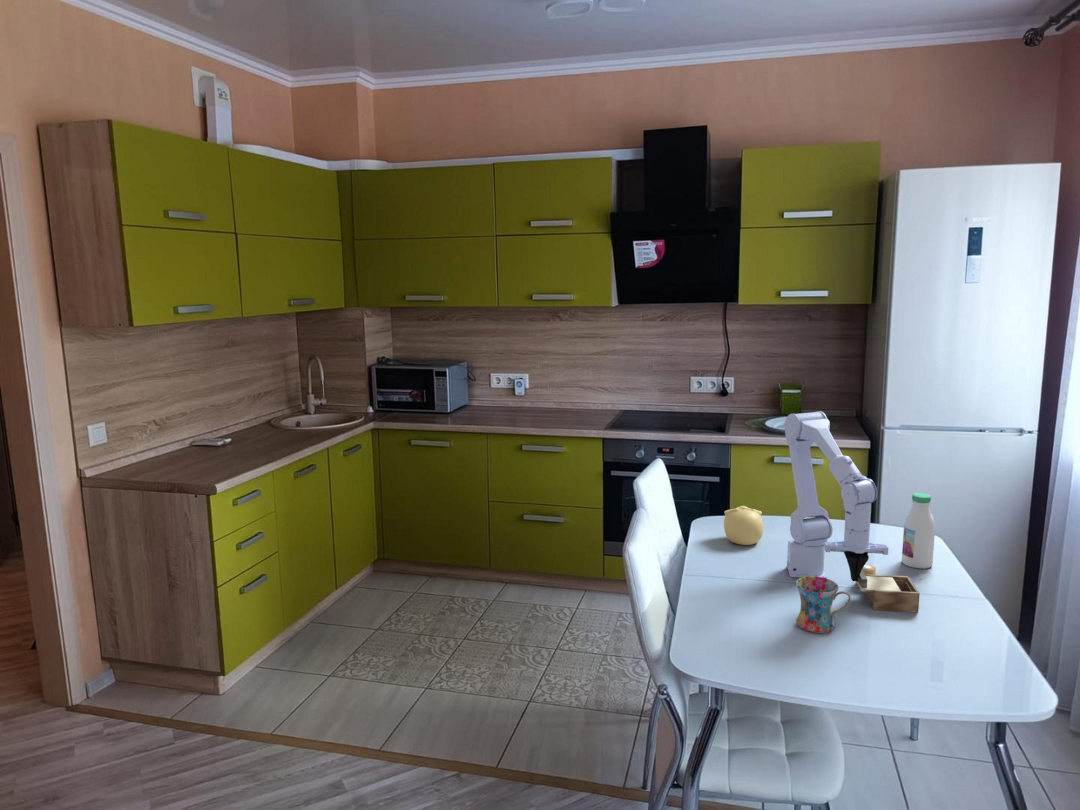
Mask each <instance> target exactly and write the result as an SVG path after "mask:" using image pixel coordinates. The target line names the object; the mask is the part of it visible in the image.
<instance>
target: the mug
mask: <svg viewBox="0 0 1080 810" xmlns="http://www.w3.org/2000/svg"><path fill="white" fill-rule="evenodd" d="M795 585H796V588H797V590H798V593H799V597H800V611H799V614H798V616H797V618H796V620H795V621H796V624H797V626H798V627H800V628H801V629H803V630H804V631H807V632H810V633H817V634H822V633H823V634H825V633H829V632H831V631H833V630H834V629H835V627H836V624H835V621H834V620H833V618H836V615H835V614H836V613H839V612H841V611H843V610H845V608H847V607H848V605H849V604H850V602H851V599H852V598H851V595H850V593H848V592H846V591H838V590H839V588H840V587H839V585H838V584H837V583H836V582H835V581H834V580H831V579H829V578H828V577H827V578H823V577H816V576H808V577H802V578H800V577H798V579H797V580H796V581H795ZM839 595H846V596H847V597H848V599H847V601H846V603H845V604H844V605H843V606H842V607H840V608H838V609H836V610H834V611H832V607H833V602H834V601H835V599H836V598H837V597H838V596H839Z"/></svg>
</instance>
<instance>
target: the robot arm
mask: <svg viewBox="0 0 1080 810" xmlns="http://www.w3.org/2000/svg"><path fill="white" fill-rule="evenodd" d="M830 426H831V424H830V420H829V419H828V417H827V415H826V414H825V413H824V411H821V410H818V411H814V412H803V413H790V414H787V417H786V419H785V421H784V422H783V427H784V435H785V441H786V445H788V449H789V456H790V463H791V469H792V475H793V481H794V482H793V483H794V488H795V489H794V490H795V495H796V501H797V508H796V509H795V510H794V511H793V512H792V513H791V514H790V516H789V517H790V526H789V531H790V536H791V538H792V539H793V540H789V541H788V542H787V559H786V568H787V571H788V573H789V577H791V578H802V577H808V576H816V577H823V578H827V579H828V576H827V574H826V573H827V572H825V553H831V552H834V553H835V552H836V553H838V552H839V553H843V554H844V556H845V559H846V562H847V564H848V568H849V571H850V572H849V574H850V580H851V581H852V582H856V581H858V579H859V576H860V573H861V571H862V569H863V567H864V565H865V564H867V563H868V561H869V554H883V555H884V556H885V555H886V556H889V546H888V545H887V544H884V543H883V544H880V543H873V542H870V533H871V532H870V531H871V516H872V515H871V513H872V503H874V502H875V501H876V500H877V497H878V488H877V486H876V484H875V482H874V481H873V479H871V478H867V477H866V475H863V474H862V473H861V471H860V470H859V469H858V467H857V466H856V464H855V463H854V461H853V460H852V458H851V457H850V456H848V455H843V453H842V451H841V449H840V447H839V446H838V444H837V442H836V440H835V437H833V435H832V433H831V431H830V428H831V427H830ZM814 443H815V444H816V446H817V447H818V448H819V449H820V450H821V452H822V453H823V454H824V456H825V458H827V460H829V462H830V463H829V467H828V469H829V471H830V472H831V474H832V475H833V477H834V479H835V480H836V481H837V483H838V484H839V486H840V488H841V490H840V496H841V499H842V501H843V502H842V503H843V510H845V513H844V515H845V516H844V536H843V537H844V538H843V540H841V541H840V540H839V541H829V542H828V539H830V538H831V537H832V535H833V529H834V528H833V524H832V522H831V520H830V517H829V512H828V511H827V510H826V509H825V508H823V507H822V506H820V504H819V500H818V499H819V497H818V492H817V485H816V479H815V474H814V473H815V472H814V468H813V461H812V454H811V447H812V446H813V444H814Z"/></svg>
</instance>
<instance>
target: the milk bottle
mask: <svg viewBox="0 0 1080 810" xmlns="http://www.w3.org/2000/svg"><path fill="white" fill-rule="evenodd" d="M931 501H932V496H931V495H930V494H928V493H924V492H922V493H921V492H915V493H913V494H912V495H911V503H912V505H911V509H910V510H909V512H908V513H907V515H906V517H905V519H904V520H905V521H904V526H903V534H902V535H903V536H902V537H903V538H902V550H901V551H902V552H901V561H902V564H904V565H905V566H907V567H910V568H913V569H922V570H923V569H929V568H931V567H932V566H933V563H934V550H935V535H936V534H935V532H936V531H935V529H936V523H935V518H934V516H933V514H932V511H931V507H930V505H931V504H932V503H931Z"/></svg>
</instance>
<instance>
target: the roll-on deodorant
mask: <svg viewBox="0 0 1080 810" xmlns="http://www.w3.org/2000/svg"><path fill="white" fill-rule="evenodd" d="M862 571H863V572H864V574H865V576H866V574H868V575H877V568H876V566H874V565H872V564H867V563H866V564H865V565H864V567H863V569H862ZM856 585H857V586H856ZM855 586H856V587H857V588H860V587H859V585H858V583H857V581H855Z"/></svg>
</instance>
